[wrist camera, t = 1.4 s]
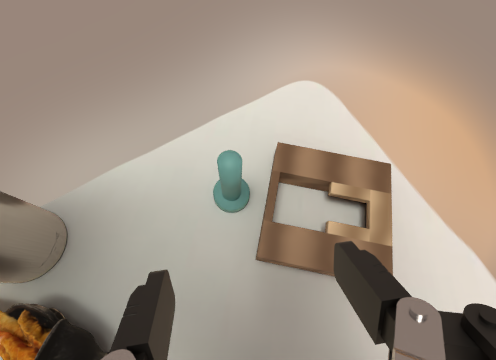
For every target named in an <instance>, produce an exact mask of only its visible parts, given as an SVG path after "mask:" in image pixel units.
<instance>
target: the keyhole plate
mask: <svg viewBox="0 0 496 360" xmlns="http://www.w3.org/2000/svg"><path fill="white" fill-rule="evenodd" d="M278 182H281V183H286V184H291V185H296V186H301V187H306V188H311V189H316V190H321V191H326V192H329V193H328V196H333V197H339V198H344V199H349V200H354V201H359V202H364V203H367V211H366V228H362V227H357V226H352V225H347V224H342V223H337V222H332V221H328V222H326V229H325V233H324V232H319V231H314V230H309V229H305V228H300V227H295V226H290V225H285V224H280V223H275V222H272V219H273V213H274V207H275V201H276V195H277V189H278ZM345 241H352V242H353V243H354V244H355V245H356V246H357V247H358V248H359V250H366V251H368V252H369V253H371V254H373V255H374V256H376V258H377V259H378V260H379V261H380V262H381V263H382V265H384V266H385V268H386V269H387V270H388V272H390V273H391V274H392V275H393V262H392V200H391V164H389V163H383V162H378V161H373V160H368V159H363V158H357V157H352V156H347V155H342V154H337V153H331V152H326V151H321V150H316V149H310V148H305V147H300V146H295V145H290V144H284V143H279V142H278V144H277V148H276V151H275V155H274V161H273V166H272V172H271V177H270V183H269V188H268V194H267V200H266V205H265V211H264V216H263V222H262V227H261V233H260V238H259V244H258V250H257V255H256V260H259V261H264V262H269V263H274V264H278V265H283V266H288V267H293V268H297V269H302V270H307V271H312V272H316V273H321V274H326V275H331V276H335V275H334V269H333V266H334V246H335V243H339V242H345Z"/></svg>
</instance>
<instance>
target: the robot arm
mask: <svg viewBox="0 0 496 360" xmlns="http://www.w3.org/2000/svg"><path fill="white" fill-rule="evenodd" d="M66 240H67V232H66V228H65V225H64V223H63V221H62V220H61V218H59V217H58V216H57V215H56V214H54V213H52V212H49V211H47V210H45V209H42V208H40V207H37V206H35V205H33V204H30V203H27V202H25V201H23V200H20V199H18V198H16V197H13V196H11V195H8V194H6V193H3V192H1V191H0V283H23V282H28V281H31V280H34V279H36V278H38V277H40V276H42V275H43V274H45V273H46V272H47V271H49V270H50V269H51V268H52V267H53V266H54V265H55V264H56V262H57V261H58V260H59V258H60V257H61V255H62V253H63V251H64V248H65V245H66ZM333 269H334V275H335V278H336V280H337V282H338V284H339V285H340V287H341V289H342V290H343V292H344V294H345V295H346V297H347V299H348V300H349V302H350V304H351V305H352V307H353V309H354V310H355V312H356V313H357V315H358V317H359V318H360V320H361V322H362V323H363V325H364V327H365V328H366V330H367V332H368V333H369V335H370V337H371V338H372V340H373V342H374V343H375V345H376V344H381V343H386V345H387V346H388V348H389V353H388V360H496V309H495V308H492V307H490V306H487V305H483V304H476V303H475V304H469V305H467V306H466V307H465V308H464V311H463V314H462V313H452V312H443V311H437V310H436V309H435V308H434V307H433V306H432V305H430V304H429V303H427V302H426V301H423V300H421V299H418V298H414V297H412V296H411V295H410V294H409V293H408V292H407V291H406V290H405V289H404V287H403V286H402V285H401V284H400V283H399V282H398V281H397V280H396V279H395V277H394V276H393V275H392V274H391V273H390V272H388V270H387V269H386V268H385V266H384V265H382V263H381V262H380V261H379V260H378V259H377V258H376V256H374V255H373V254H371V253H369V252H368V251H366V250H359V248H358V247H357V246H356V245H355V244H354V243H353V242H352V241H345V242H339V243H335V246H334V266H333ZM126 307H127V308H126V309H125V312H124V314H123V317H122V320H121V323H120V325H119V328H118V331H117V333H116V336H115V339H114V342H113V344H112V347H111V350H110V352H109V354H107V355H106V356H105V357H103V358H102V359H101V360H167V356H168V350H169V344H170V337H171V331H172V324H173V318H174V312H175V295H174V291H173V287H172V284H171V280H170V276H169V272H168V270H161V271H154V272H150V273H149V275H148V279H147V282H146V285H141V286H138V287H137V288H136V289H135V291H134V292H133V293H132V294H131V296H130V298H129V301H128V303H127V306H126Z"/></svg>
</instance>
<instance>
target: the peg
mask: <svg viewBox="0 0 496 360" xmlns="http://www.w3.org/2000/svg"><path fill="white" fill-rule="evenodd" d="M217 164H218V170H219V177H220V180H219V181H218V182H217V183H216V185H215V187H214V190H213V195H214V199H215V202H216V204H217V206H218V207H219V208H220V209H221V210H223V211H225V212H230V213H233V212H238V211H240V210H242V209H243V208H244V207H245V206H246V205H247V203H248V200H249V194H250V191H249V187H248V185H247V183H246V182H245V181H244V180H243V179H242V178H241V177H242V158H241V156H240V155H239V154H238V153H237V152H235V151H232V150H228V151H224V152H222V153H221V154H220V155H219V157H218V159H217Z"/></svg>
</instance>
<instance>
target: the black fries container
mask: <svg viewBox="0 0 496 360" xmlns="http://www.w3.org/2000/svg"><path fill="white" fill-rule="evenodd" d="M107 354H109V353H105V352H103V351H102V350H101V349H100V348H99V346H98V345H97V343H96V342H95V340H94V338H93V336H92V335H91V334H90V333H89V332H87V331H86V330H84V329H81V328H78V327H76V326H73V325H71V324H69V322H68V321H67V320H66V319H65V318H64V316H63V315H62V314H61V313H60V312H59V311H58V310H56V309H53V308H46V307H43V306H41V305H37V304H16V305H13V306H12V307H11V308H10V309H8V311H6V312H4V313H3V312H2V311H0V356H1V357H2V358H3V360H101V359H102V358H103V357H105V356H106V355H107Z"/></svg>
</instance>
